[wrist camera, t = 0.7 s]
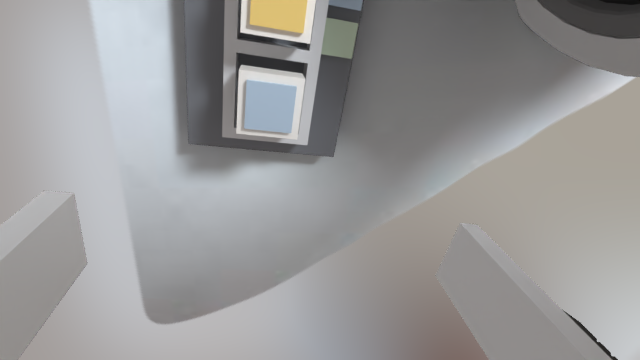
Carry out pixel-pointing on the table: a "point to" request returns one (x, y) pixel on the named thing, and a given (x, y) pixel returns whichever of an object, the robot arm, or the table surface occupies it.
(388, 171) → the table surface
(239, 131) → the key blue
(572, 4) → the alarm clock
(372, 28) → the table surface
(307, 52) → the keypad
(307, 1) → the key ochre
